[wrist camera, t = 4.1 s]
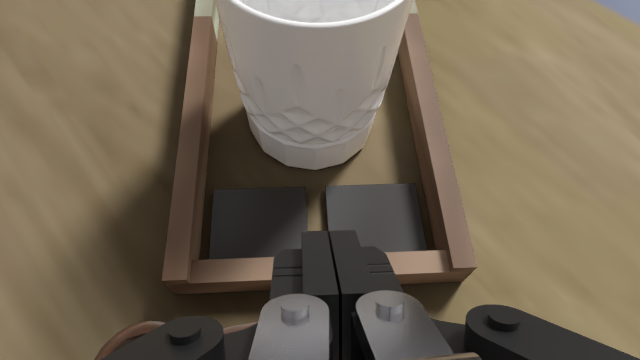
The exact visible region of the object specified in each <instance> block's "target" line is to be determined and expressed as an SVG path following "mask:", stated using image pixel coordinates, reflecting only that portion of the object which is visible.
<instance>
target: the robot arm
mask: <svg viewBox="0 0 640 360" xmlns="http://www.w3.org/2000/svg"><path fill="white" fill-rule="evenodd" d="M100 360H640V359H638V358H636V357H634V356H631V355H629V354H626V353H624V352H621V351H619V350H616V349H614V348H611V347H609V346H607V345H604V344H602V343H599V342H597V341H594V340H592V339H589V338H587V337H585V336H582V335H580V334H577V333H575V332H572V331H570V330H567V329H565V328H563V327H560V326H558V325H555V324H553V323H550V322H548V321H545V320H543V319H540V318H538V317H536V316H533V315H531V314H528V313H526V312H523V311H521V310H518V309H515V308H512V307H508V306H503V305H481V306H477V307H474V308H473V309H471V310H470V311H469V312H468V313H467V315H466V323H465V325H464V324H457V323H450V322H444V321H439V320H435V319H432V318H430V316H429V315H428V313H427V312H426V310H425V309H424V307H423V305H422V304H421V303H420V302H419V301H418V300H417V299H416V298H414V297H412V296H410V295H408V294H405V293H404V292H403V289H402V287H401V285H400V283H399V281H398V279H397V276H396V274H395V273H394V270H393V268H392V266H391V265H390V261H389V259H388V257H387V255H386V254H385V253H384V252H383V251H381V250H380V249H378V248H377V247H375V246H367V247H361V245H360V243H359V240H358V237H357V234H356V231H355V230H335V231H329V235H328V234H327V231H307V232H301V249H283V250H281V251H280V252H279V253H278V254H277V255H276V256H275V257H274V261H273V270H272V280H271V290H270V300H269V302H268V303H266V304H265V305H264V307H263V308H262V310H261V314H260V318H259V321H258V323H256V324H254V325H252V326H250V327H248V328H246V329H243V330H239V331H235V332H231V333H227V334H224V332H223V327H222V325H221V324H220V323H219V322H218V321H216V320H214V319H212V318H209V317H204V316H187V317H182V318H178V319H174V320H171V321H169V322H167V323H165V324H163V325H161V326H159V327H157V328H155V329H154V330H152V331H150V332H148V333H147V334H145V335H143V336H141V337H139V338H138V339H136V340H134V341H132V342H130V343H129V344H127V345H125V346H123V347H122V348H120V349H118V350H116V351H114V352H113V353H111V354H109V355H107V356H106V357H104V358H102V359H100Z"/></svg>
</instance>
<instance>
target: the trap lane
mask: <svg viewBox="0 0 640 360" xmlns="http://www.w3.org/2000/svg"><path fill="white" fill-rule="evenodd" d="M218 28H219V15H218V11H217V7H216V4H215V0H196V3H195V11H194V19H193V28H192V36H191V44H190V52H189V61H188V69H187V77H186V85H185V93H184V102H183V110H182V118H181V126H180V134H179V143H178V151H177V159H176V167H175V176H174V184H173V192H172V200H171V208H170V217H169V225H168V233H167V241H166V249H165V258H164V266H163V274H162V282H163V283H164V284H165V285H166V286H167V287H168V288H169V289H170V291H171V292H172V293H173V294H197V293H219V292H242V291H264V290H271V280H272V270H273V261H274V257H275V256H276V255H277V254H278V253H279V252H280V251H281V250H283V249H301V232H307V211H306V188H305V187H284V188H253V189H223V190H214V194H213V208H212V222H211V236H210V250H209V260H200V250H201V237H202V225H203V213H204V201H205V188H206V176H207V164H208V151H209V139H210V127H211V114H212V102H213V90H214V78H215V65H216V53H217V41H218ZM398 57H399V62H400V68H401V73H402V78H403V84H404V89H405V94H406V99H407V105H408V110H409V115H410V120H411V126H412V131H413V136H414V142H415V147H416V152H417V157H418V163H419V168H420V173H421V179H422V184H423V189H424V194H425V200H426V205H427V210H428V216H429V221H430V226H431V231H432V237H433V242H434V247H435V250H433V251H427V247H426V242H425V236H424V230H423V225H422V219H421V214H420V208H419V203H418V197H417V192H416V186H415V183H405V184H374V185H344V186H326V187H325V193H326V208H327V223H328V235H329V231H335V230H355V231H356V234H357V237H358V240H359V243H360V245H361V247H367V246H375V247H377V248H378V249H380V250H381V251H383V252H384V253H385V254H386V255H387V257H388V259H389V261H390V265H391V266H392V268H393V270H394V273H395V274H396V276H397V279H398V281H399V283H400V284H422V283H444V282H463V281H464V280H465V279H466V278H467V277H468V276H469V275H470V274H471V273H472V272H473V271H474V270H475V269H476V268H477V265H476V260H475V256H474V252H473V248H472V243H471V239H470V235H469V230H468V226H467V222H466V218H465V213H464V209H463V205H462V200H461V196H460V192H459V187H458V183H457V179H456V175H455V170H454V166H453V162H452V157H451V153H450V149H449V145H448V140H447V136H446V132H445V127H444V123H443V119H442V115H441V110H440V106H439V102H438V97H437V93H436V89H435V85H434V80H433V76H432V72H431V67H430V63H429V59H428V55H427V50H426V46H425V42H424V37H423V33H422V29H421V25H420V20H419V16H418V12H417V7H416V3H415V0H413V3H412V6H411V10H410V13H409V16H408V19H407V23H406V26H405V30H404V33H403V36H402V40H401V43H400V46H399V50H398Z"/></svg>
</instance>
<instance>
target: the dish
mask: <svg viewBox="0 0 640 360" xmlns="http://www.w3.org/2000/svg"><path fill="white" fill-rule="evenodd" d="M256 323H258V322H254V323H249V324H242V325H236V326H231V327H227V328H223V332H224V334H227V333H231V332H235V331H239V330H243V329H246V328H248V327H250V326H252V325H254V324H256ZM163 324H165V323H164V322H159V321H145V322H140V323H137V324H134V325H130V326H128V327H127V328H125V329H123V330H122V331H120V332H118V333H117V334H116V335H115V336H114V337H112V338H111V339H110V340H109V341H108V342H107V343H106V344H105V345H104V346H103V347H102V348H101V350H100V352H99V353H98V355H97V356H96V358H95V360H100V359H102V358H104V357H106V356H107V355H109V354H111V353H113V352H114V351H116V350H118V349H120V348H122V347H123V346H125V345H127V344H129V343H130V342H132V341H134V340H136V339H138V338H139V337H141V336H143V335H145V334H147V333H148V332H150V331H152V330H154V329H155V328H157V327H159V326H161V325H163Z"/></svg>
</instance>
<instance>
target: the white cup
mask: <svg viewBox="0 0 640 360" xmlns="http://www.w3.org/2000/svg"><path fill="white" fill-rule="evenodd" d="M412 3H413V0H215V4H216V7H217V11H218V15H219V19H220V23H221V27H222V31H223V35H224V39H225V42H226V46H227V50H228V54H229V58H230V62H231V66H232V69H233V72H234V75H235V78H236V81H237V86H238V90H239V93H240V96H241V99H242V101H243V104H244V106H245V109H246V113H247V117H248V121H249V125H250V129H251V132H252V133H253V135H254V137H255V138H256V140H257V142H258V143H259V145H260V147H261V148H262V150H263V151H264V152H265V153H267V154H268V155H270V156H272V157H273V158H275V159H276V160H278V161H280V162H281V163H283V164H284V165H286V166H291V167H298V168H304V169H311V170H318V169H322V168H326V167H330V166H334V165H338V164H342V163H344V162H345V161H347V160H348V159H349V158H351V157H352V156H353V155H354V154H356V153H357V152H358V151H359V150H361V149H362V148H363V147H364V145H365V143H366V140H367V138H368V136H369V133H370V131H371V129H372V126H373V123H374V120H375V116H376V113H377V110H378V109H379V108H380V106H381V103H382V100H383V97H384V93H385V90H386V88H387V86H388V82H389V79H390V76H391V73H392V70H393V67H394V63H395V60H396V57H397V53H398V50H399V46H400V43H401V40H402V36H403V33H404V30H405V26H406V23H407V19H408V16H409V13H410V10H411V6H412Z"/></svg>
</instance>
